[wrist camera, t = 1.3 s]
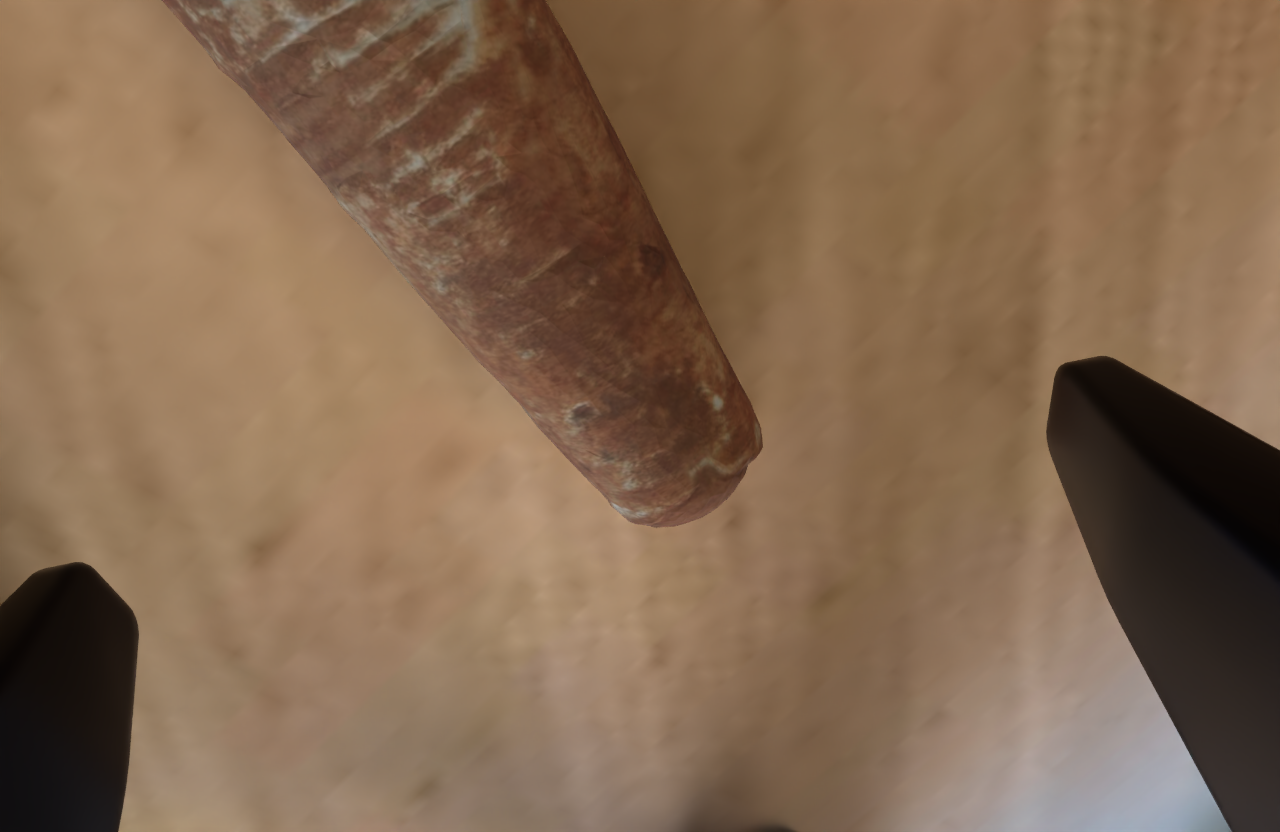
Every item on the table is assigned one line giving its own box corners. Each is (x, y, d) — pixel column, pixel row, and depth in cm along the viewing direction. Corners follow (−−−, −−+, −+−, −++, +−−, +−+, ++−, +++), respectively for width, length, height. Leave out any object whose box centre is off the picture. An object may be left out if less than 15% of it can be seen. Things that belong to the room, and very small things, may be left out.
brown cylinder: (335, -443, 17) (234, -585, 12) (785, 414, 25) (837, 541, 20) (48, -237, 18) (-154, -287, 13) (572, 517, 26) (571, 662, 21)
